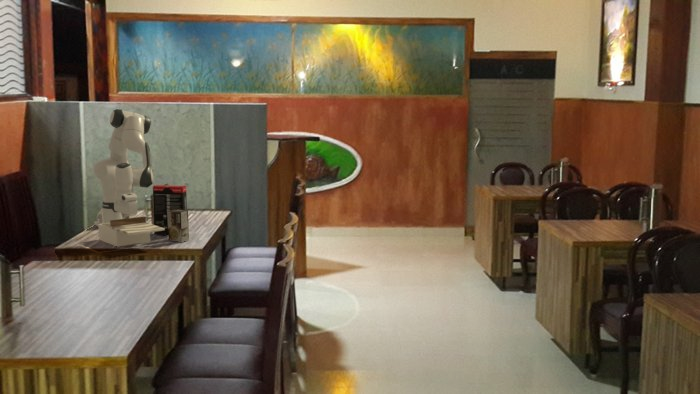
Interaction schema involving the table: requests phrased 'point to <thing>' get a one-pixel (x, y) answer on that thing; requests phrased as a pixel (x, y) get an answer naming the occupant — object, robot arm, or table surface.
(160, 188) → the graphics card box
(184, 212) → the coffee box
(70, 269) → the table surface
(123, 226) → the box lid
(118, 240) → the gift box base
